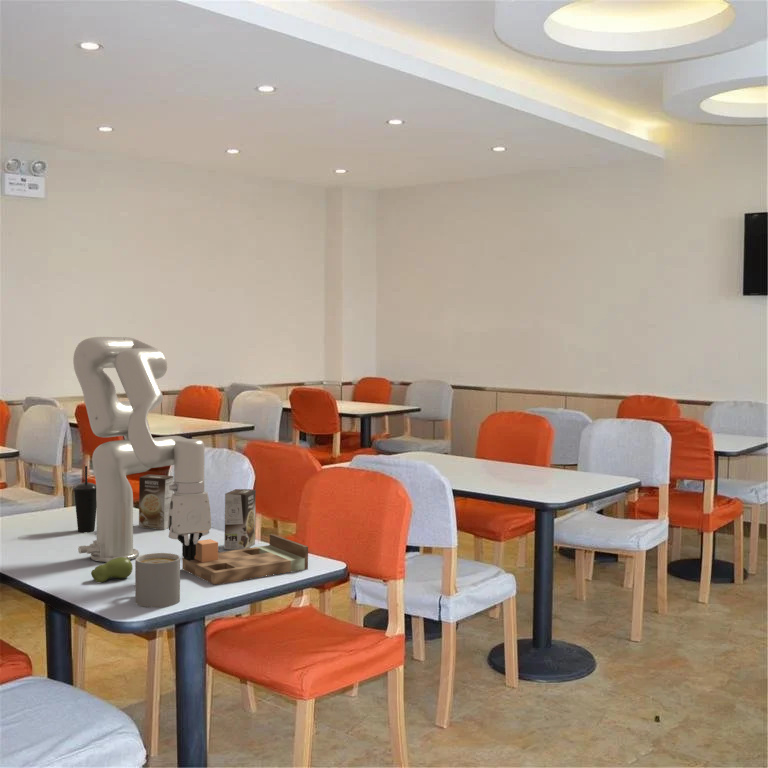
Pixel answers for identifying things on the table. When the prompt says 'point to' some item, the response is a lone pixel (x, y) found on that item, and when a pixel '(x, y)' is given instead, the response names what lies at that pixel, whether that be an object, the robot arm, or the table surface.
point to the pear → (113, 569)
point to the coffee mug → (157, 580)
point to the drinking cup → (85, 505)
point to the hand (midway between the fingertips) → (189, 559)
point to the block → (206, 550)
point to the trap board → (251, 562)
